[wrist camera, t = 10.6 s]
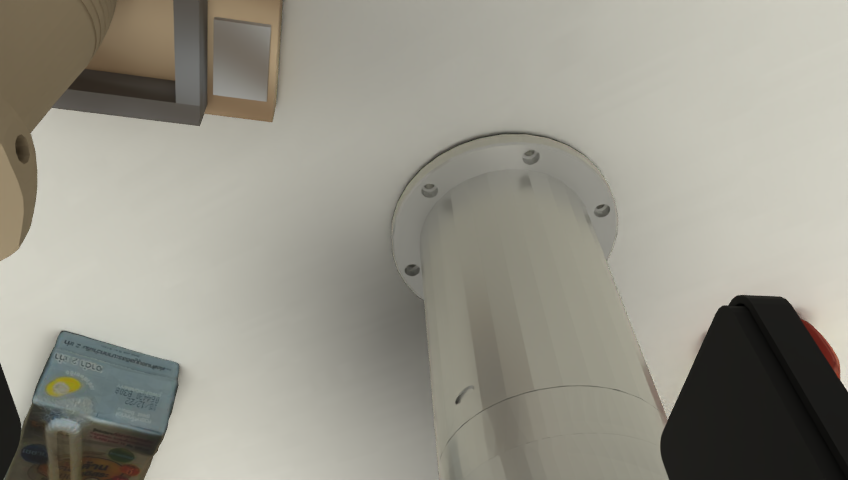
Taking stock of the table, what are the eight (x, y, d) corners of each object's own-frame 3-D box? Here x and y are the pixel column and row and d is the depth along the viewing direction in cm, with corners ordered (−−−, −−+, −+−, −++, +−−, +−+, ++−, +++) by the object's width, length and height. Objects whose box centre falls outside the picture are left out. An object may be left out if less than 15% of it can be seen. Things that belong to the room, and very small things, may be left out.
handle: (52, 48, 33) (-122, 273, 21) (-5, -110, 29) (-259, 59, 17) (163, 42, 33) (53, 262, 21) (122, -116, 29) (-41, 47, 17)
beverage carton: (190, 361, 48) (168, 447, 43) (114, 514, 58) (89, 599, 53) (61, 323, 46) (21, 410, 40) (5, 491, 56) (-33, 577, 50)
